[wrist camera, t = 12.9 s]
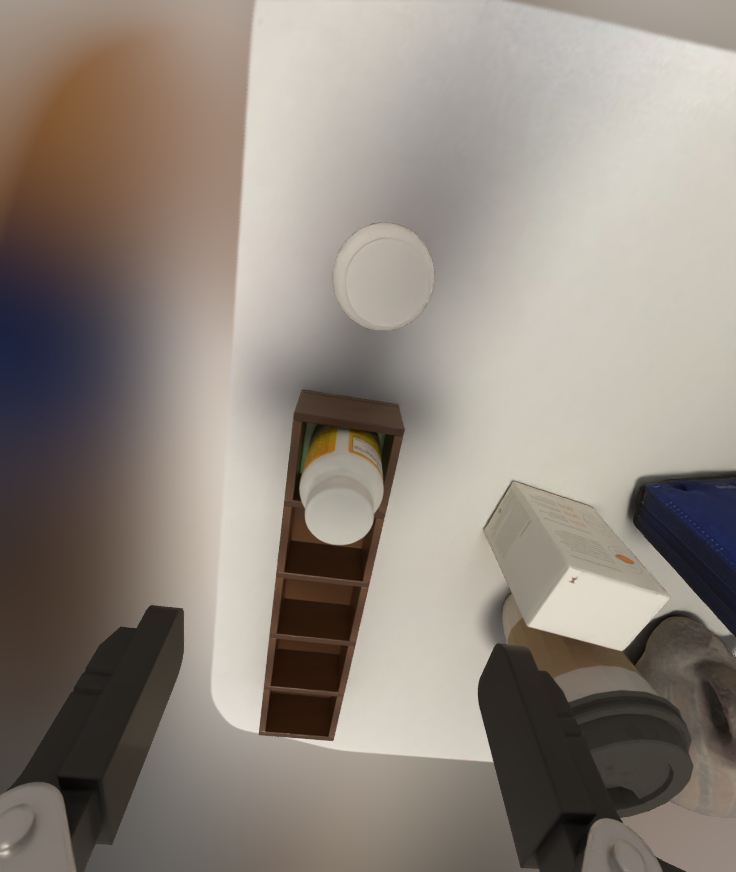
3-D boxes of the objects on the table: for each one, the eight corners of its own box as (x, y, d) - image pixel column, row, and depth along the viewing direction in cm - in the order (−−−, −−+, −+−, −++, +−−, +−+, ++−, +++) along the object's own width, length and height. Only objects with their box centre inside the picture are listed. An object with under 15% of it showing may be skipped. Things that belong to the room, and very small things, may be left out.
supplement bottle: (381, 412, 33) (389, 478, 24) (378, 474, 35) (384, 555, 26) (308, 411, 32) (291, 476, 24) (310, 473, 35) (295, 554, 26)
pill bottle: (431, 243, 28) (465, 248, 20) (400, 322, 31) (417, 358, 22) (353, 211, 28) (351, 200, 19) (326, 294, 30) (314, 320, 21)
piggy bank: (603, 623, 42) (797, 743, 31) (682, 564, 50) (859, 643, 39) (579, 755, 48) (734, 896, 36) (653, 683, 56) (799, 781, 45)
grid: (302, 389, 32) (294, 412, 28) (399, 404, 33) (405, 428, 29) (267, 690, 47) (258, 735, 43) (335, 696, 47) (333, 741, 43)
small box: (481, 529, 38) (523, 627, 29) (512, 478, 36) (568, 566, 27) (559, 554, 40) (623, 655, 30) (593, 505, 38) (674, 598, 28)
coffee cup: (462, 636, 44) (509, 817, 30) (508, 550, 39) (589, 717, 26) (562, 656, 46) (650, 836, 32) (618, 575, 41) (748, 746, 27)
